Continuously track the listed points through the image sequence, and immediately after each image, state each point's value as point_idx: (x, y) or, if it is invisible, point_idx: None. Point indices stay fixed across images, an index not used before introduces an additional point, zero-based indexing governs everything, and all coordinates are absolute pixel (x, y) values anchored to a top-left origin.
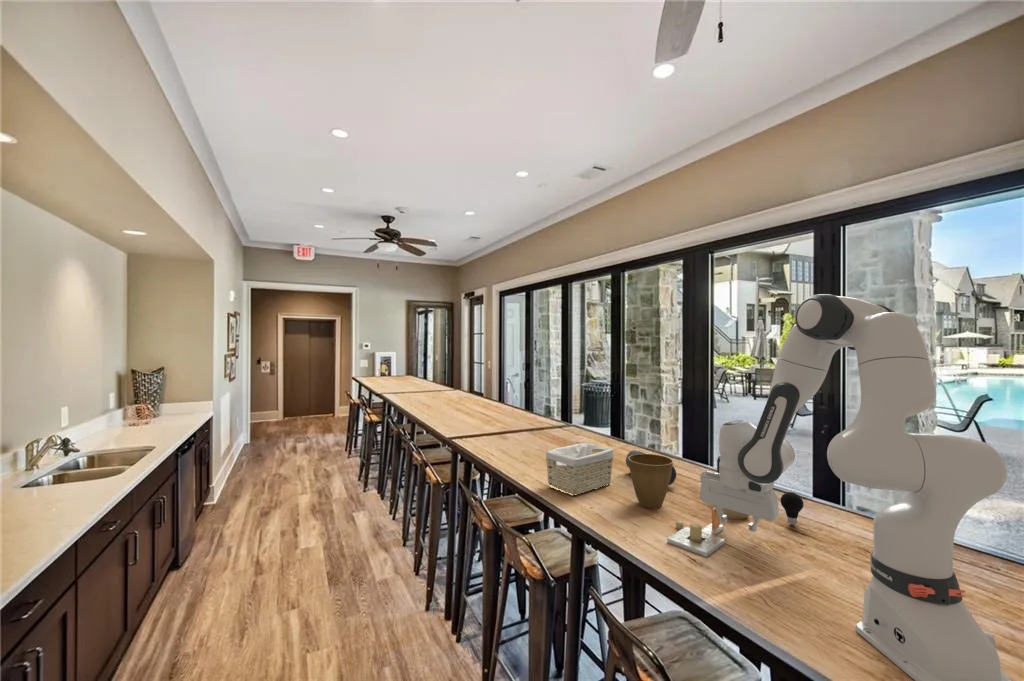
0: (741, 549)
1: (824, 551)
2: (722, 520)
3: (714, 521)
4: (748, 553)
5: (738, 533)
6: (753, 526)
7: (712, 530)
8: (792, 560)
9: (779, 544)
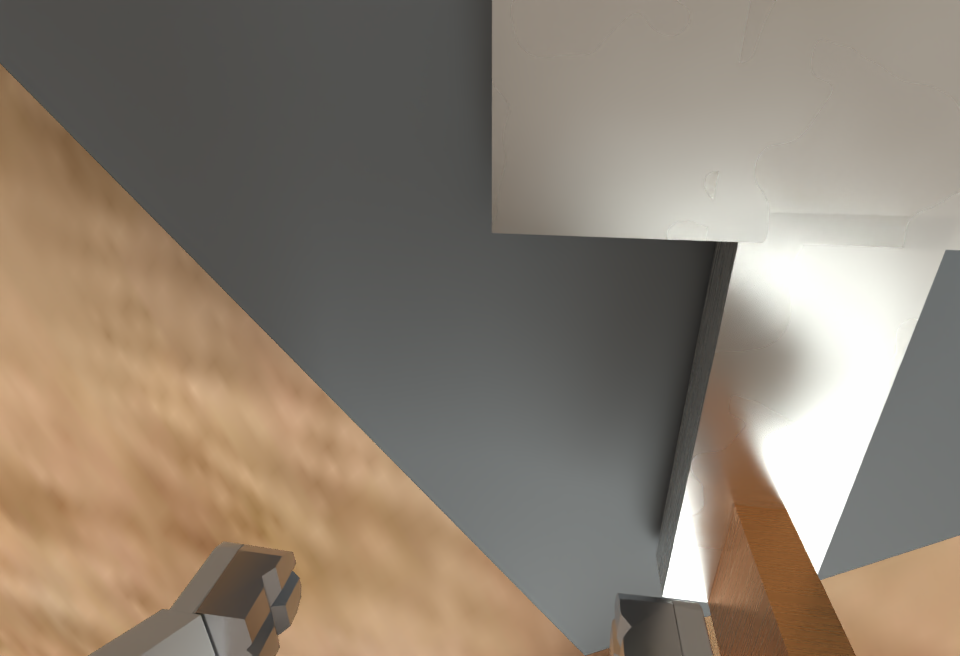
0: None
1: (46, 615)
2: (654, 618)
3: (772, 572)
4: None
5: None
6: (184, 599)
7: (743, 391)
8: (28, 385)
9: None
